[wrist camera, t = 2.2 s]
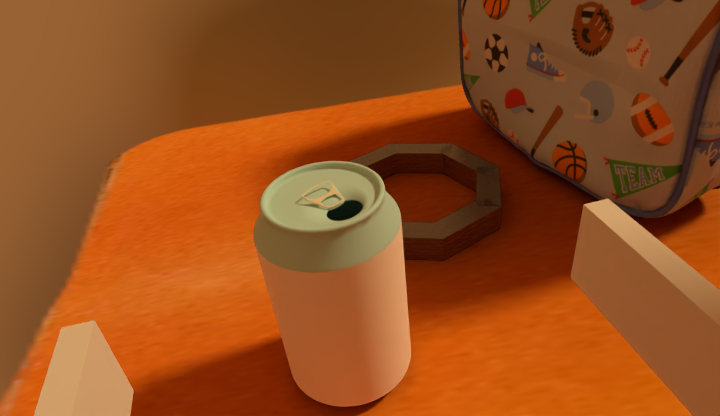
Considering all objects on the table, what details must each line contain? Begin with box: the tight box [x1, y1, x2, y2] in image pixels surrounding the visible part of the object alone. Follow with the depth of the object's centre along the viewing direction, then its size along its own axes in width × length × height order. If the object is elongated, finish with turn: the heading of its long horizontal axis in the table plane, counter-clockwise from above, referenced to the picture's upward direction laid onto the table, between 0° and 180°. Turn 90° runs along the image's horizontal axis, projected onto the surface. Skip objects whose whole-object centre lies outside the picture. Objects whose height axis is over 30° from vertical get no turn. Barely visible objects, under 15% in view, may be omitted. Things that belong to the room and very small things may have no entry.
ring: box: [348, 143, 501, 261], centre depth 42 cm, size 14×14×2 cm
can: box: [254, 161, 411, 407], centre depth 27 cm, size 7×7×12 cm
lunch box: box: [458, 0, 720, 218], centre depth 40 cm, size 28×10×22 cm, turn 26°
